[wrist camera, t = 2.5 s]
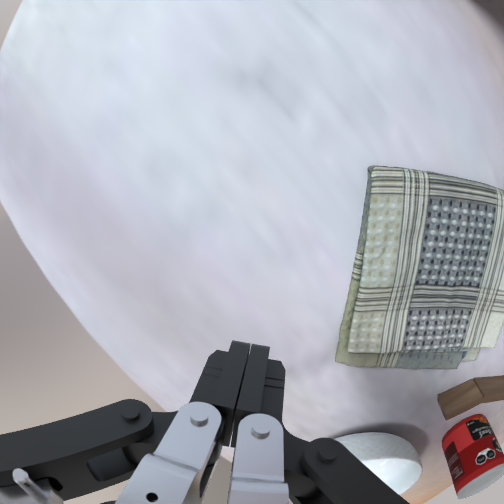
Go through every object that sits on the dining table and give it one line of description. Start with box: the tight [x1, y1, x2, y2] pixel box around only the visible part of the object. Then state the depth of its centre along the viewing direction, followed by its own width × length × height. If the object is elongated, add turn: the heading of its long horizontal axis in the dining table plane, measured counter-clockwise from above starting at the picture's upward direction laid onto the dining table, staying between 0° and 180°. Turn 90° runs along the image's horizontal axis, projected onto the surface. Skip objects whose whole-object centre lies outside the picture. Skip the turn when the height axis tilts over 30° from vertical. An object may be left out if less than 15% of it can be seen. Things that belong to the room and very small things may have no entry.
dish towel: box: [335, 166, 504, 369], centre depth 21 cm, size 19×18×3 cm
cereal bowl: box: [289, 432, 422, 501], centre depth 27 cm, size 17×17×7 cm
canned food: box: [442, 414, 504, 499], centre depth 23 cm, size 8×8×11 cm
